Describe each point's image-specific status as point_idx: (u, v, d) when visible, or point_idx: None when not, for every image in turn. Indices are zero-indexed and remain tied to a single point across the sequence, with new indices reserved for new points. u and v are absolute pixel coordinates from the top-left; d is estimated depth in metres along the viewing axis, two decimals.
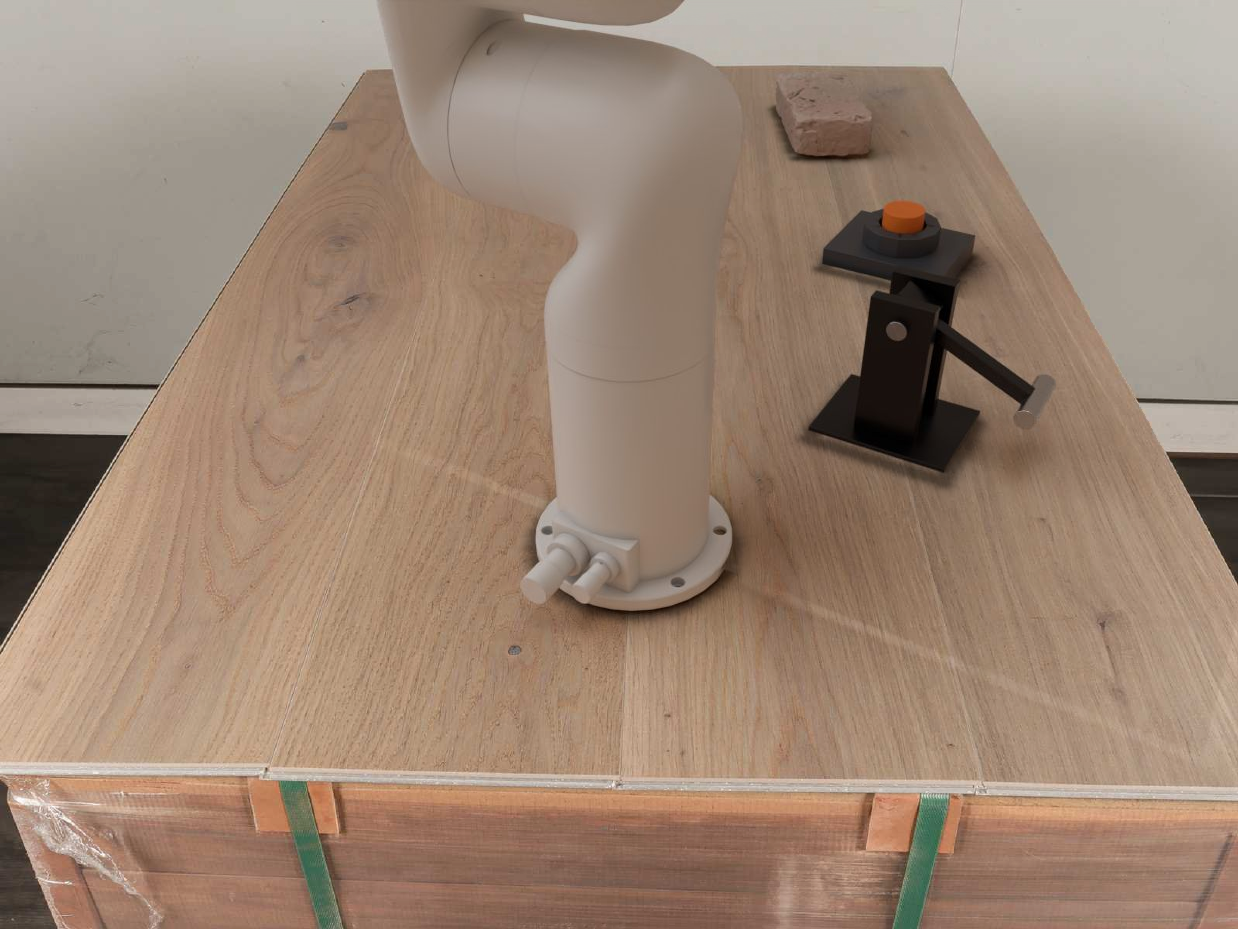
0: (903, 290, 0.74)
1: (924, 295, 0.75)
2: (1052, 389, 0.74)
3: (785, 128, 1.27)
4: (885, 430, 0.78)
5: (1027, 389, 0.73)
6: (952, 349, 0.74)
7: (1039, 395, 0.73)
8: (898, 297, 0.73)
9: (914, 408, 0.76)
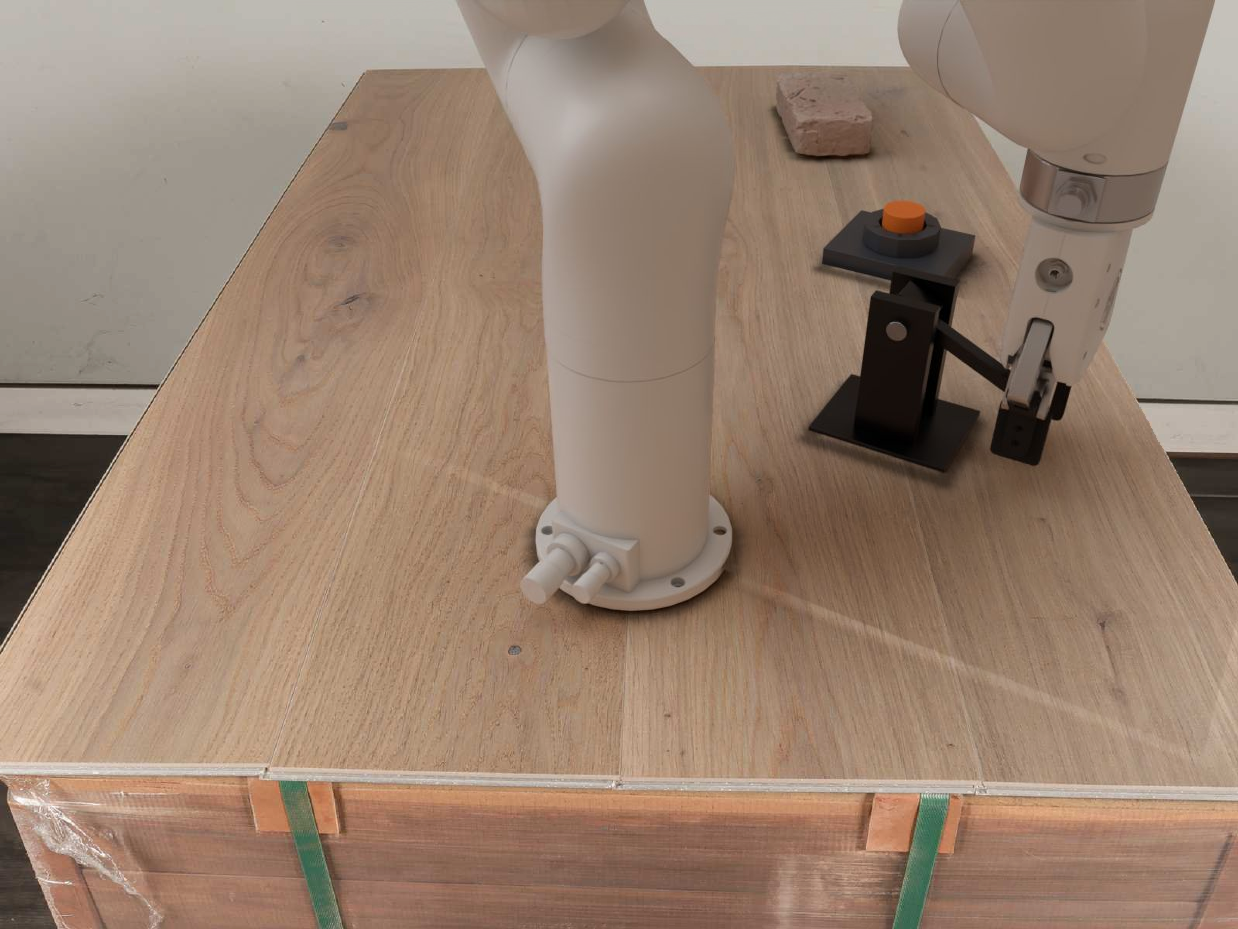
0: (903, 290, 0.74)
1: (924, 295, 0.75)
2: None
3: (786, 128, 1.27)
4: (885, 430, 0.78)
5: None
6: (952, 349, 0.74)
7: None
8: (898, 297, 0.73)
9: (914, 408, 0.76)
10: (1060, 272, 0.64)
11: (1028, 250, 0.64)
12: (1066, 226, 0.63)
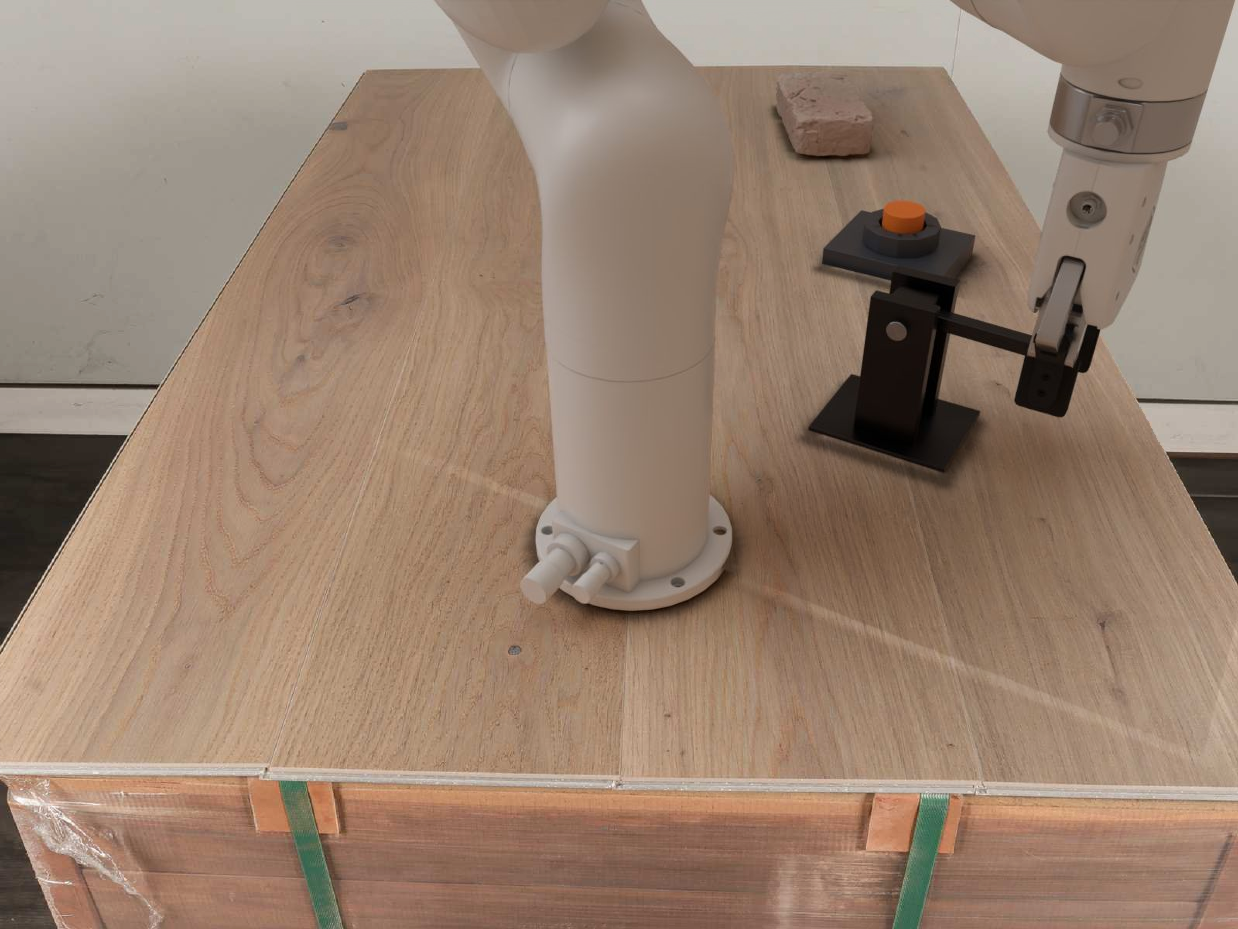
0: (894, 293, 0.75)
1: (918, 292, 0.75)
2: None
3: (786, 128, 1.27)
4: (885, 430, 0.78)
5: None
6: (961, 332, 0.73)
7: None
8: (898, 297, 0.73)
9: (914, 408, 0.76)
10: (1093, 207, 0.61)
11: (1060, 184, 0.61)
12: (1100, 157, 0.60)
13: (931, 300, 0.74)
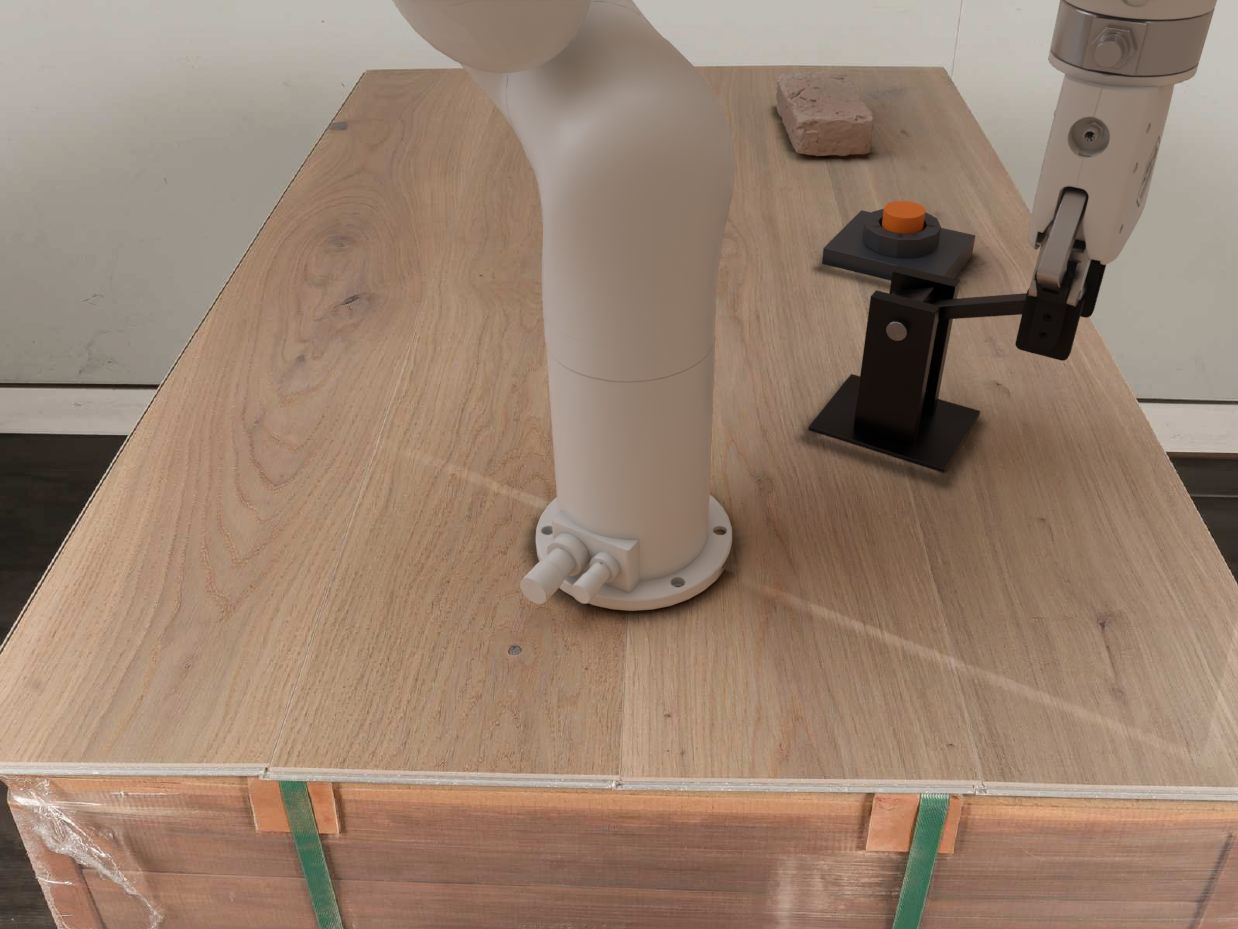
0: None
1: (911, 291, 0.75)
2: None
3: (786, 128, 1.27)
4: (885, 430, 0.78)
5: None
6: (963, 313, 0.73)
7: None
8: (898, 297, 0.73)
9: (914, 408, 0.76)
10: (1095, 133, 0.59)
11: (1061, 111, 0.59)
12: (1102, 81, 0.58)
13: (924, 294, 0.74)
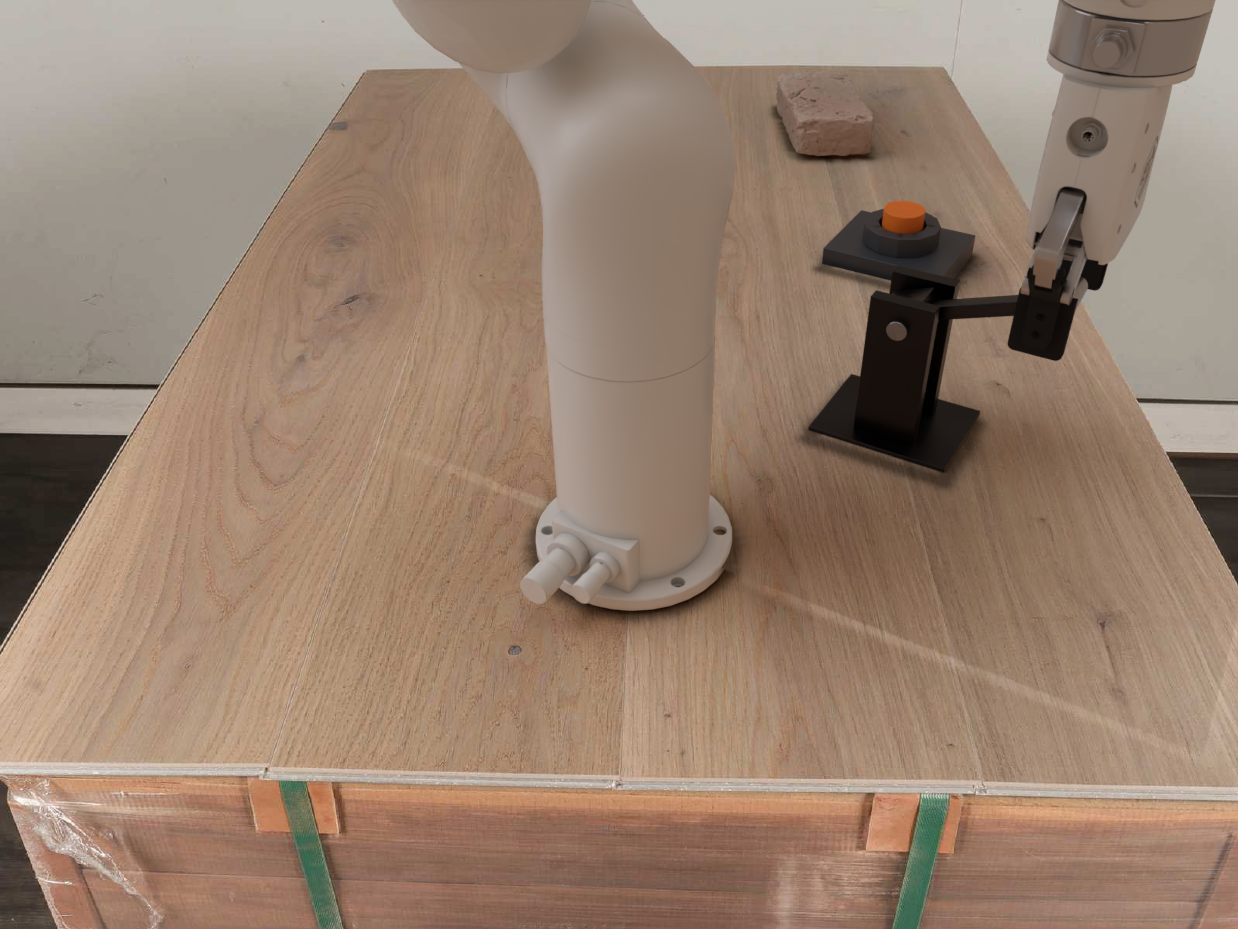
0: None
1: (911, 291, 0.75)
2: (1079, 283, 0.69)
3: (786, 128, 1.27)
4: (885, 430, 0.78)
5: None
6: (963, 314, 0.73)
7: None
8: (898, 297, 0.73)
9: (914, 408, 0.76)
10: (1094, 134, 0.59)
11: (1059, 112, 0.59)
12: (1101, 82, 0.58)
13: (925, 294, 0.74)
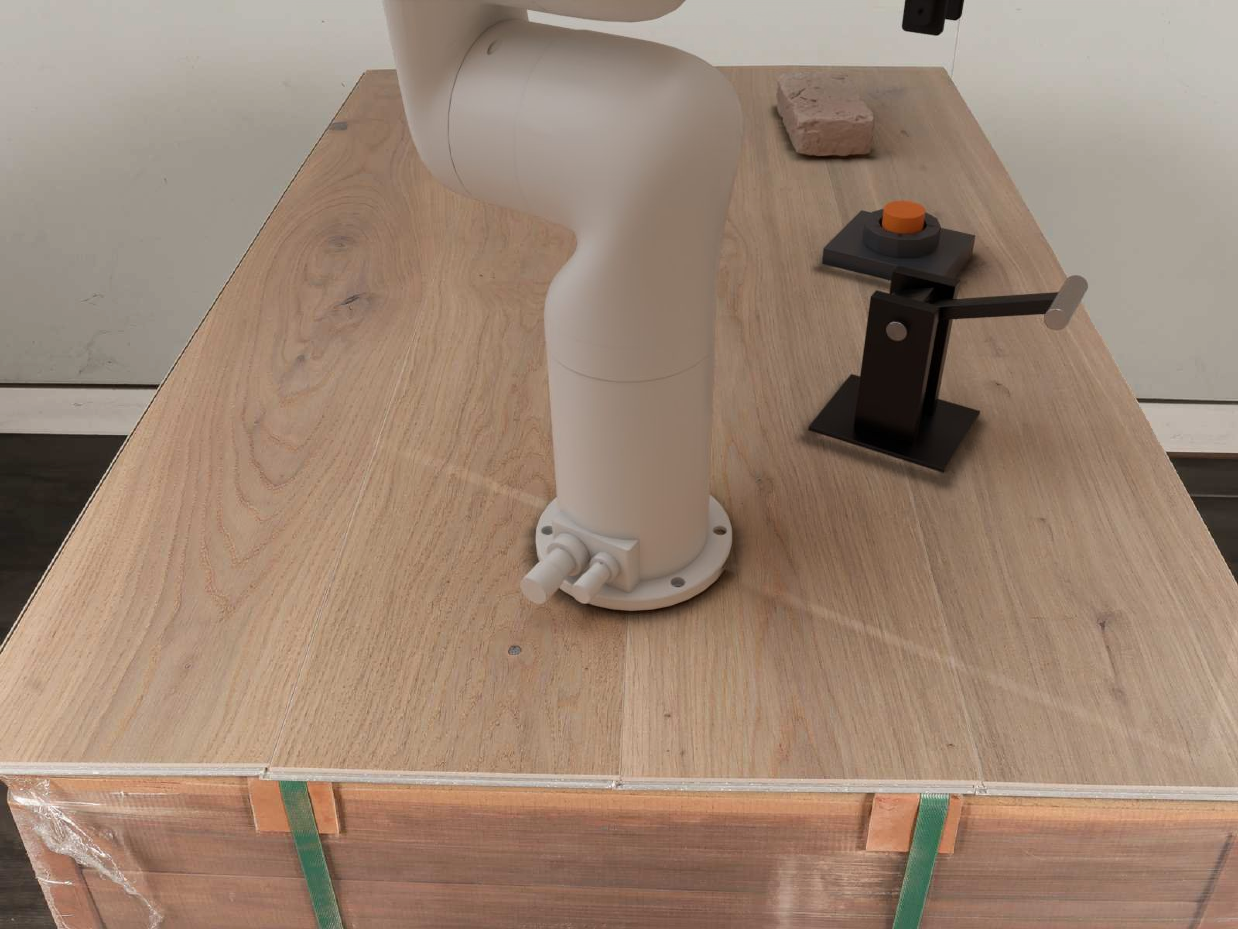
0: None
1: (911, 291, 0.75)
2: (1079, 283, 0.69)
3: (786, 128, 1.27)
4: (885, 430, 0.78)
5: (1049, 297, 0.69)
6: (963, 314, 0.73)
7: (1062, 293, 0.69)
8: (898, 297, 0.73)
9: (914, 408, 0.76)
10: None
11: None
12: None
13: (925, 294, 0.74)
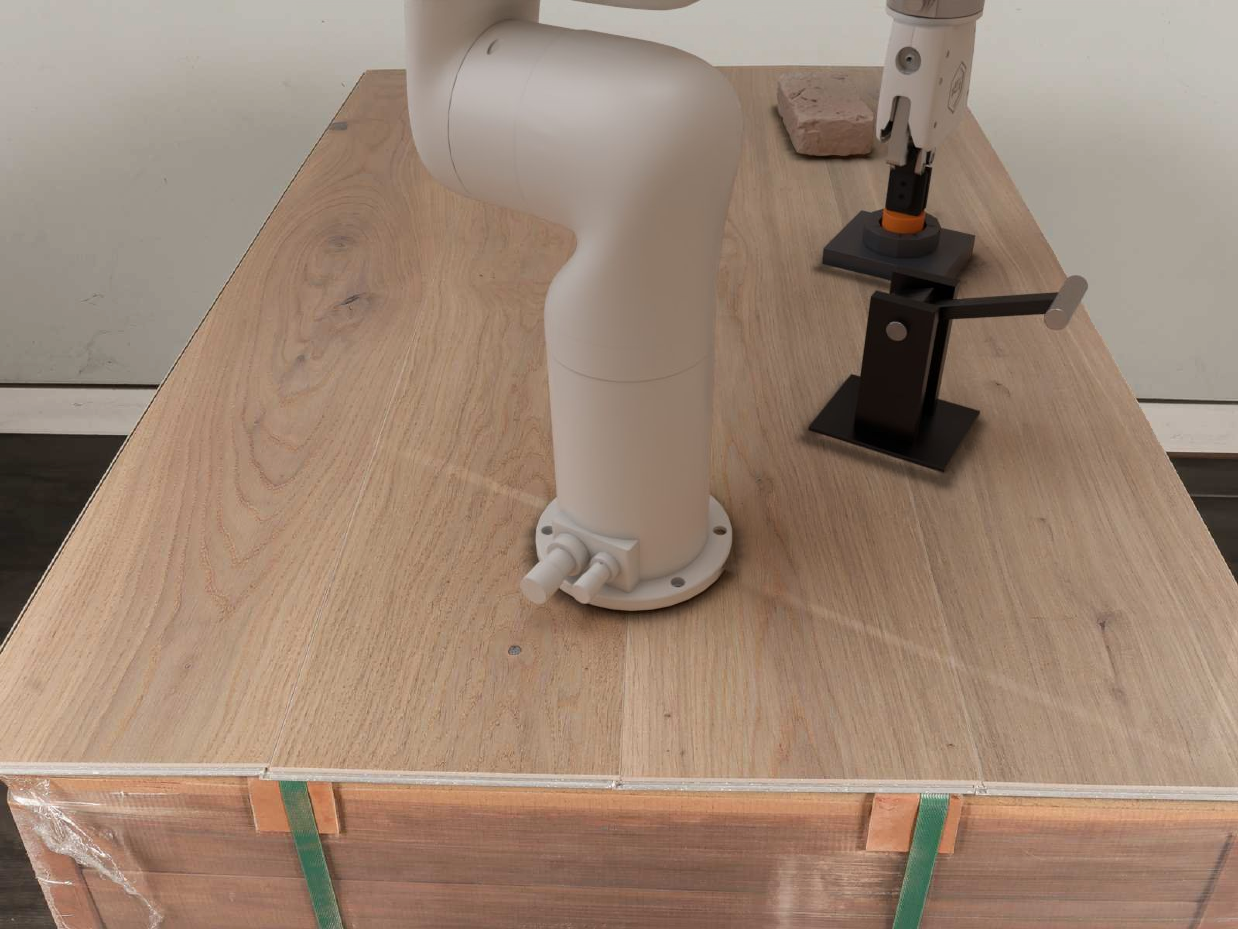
0: None
1: (911, 291, 0.75)
2: (1079, 283, 0.69)
3: (787, 128, 1.27)
4: (885, 430, 0.78)
5: (1049, 297, 0.69)
6: (963, 314, 0.73)
7: (1062, 293, 0.69)
8: (898, 297, 0.73)
9: (914, 408, 0.76)
10: (913, 58, 0.87)
11: (890, 43, 0.87)
12: (915, 22, 0.86)
13: (925, 294, 0.74)
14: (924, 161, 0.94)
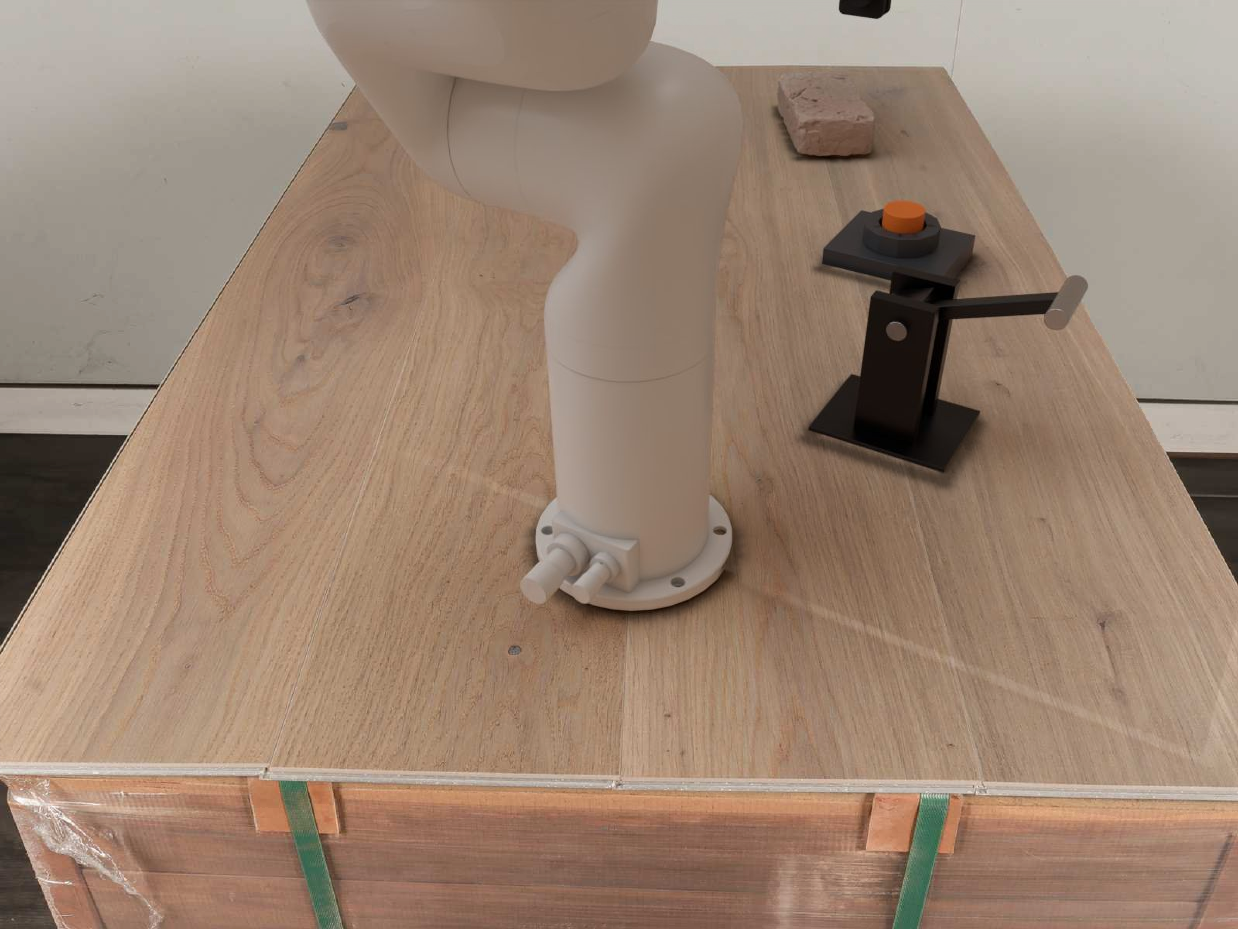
0: None
1: (911, 291, 0.75)
2: (1079, 283, 0.69)
3: (787, 128, 1.27)
4: (885, 430, 0.78)
5: (1049, 297, 0.69)
6: (963, 314, 0.73)
7: (1062, 293, 0.69)
8: (898, 297, 0.73)
9: (914, 408, 0.76)
10: None
11: None
12: None
13: (925, 294, 0.74)
14: None
